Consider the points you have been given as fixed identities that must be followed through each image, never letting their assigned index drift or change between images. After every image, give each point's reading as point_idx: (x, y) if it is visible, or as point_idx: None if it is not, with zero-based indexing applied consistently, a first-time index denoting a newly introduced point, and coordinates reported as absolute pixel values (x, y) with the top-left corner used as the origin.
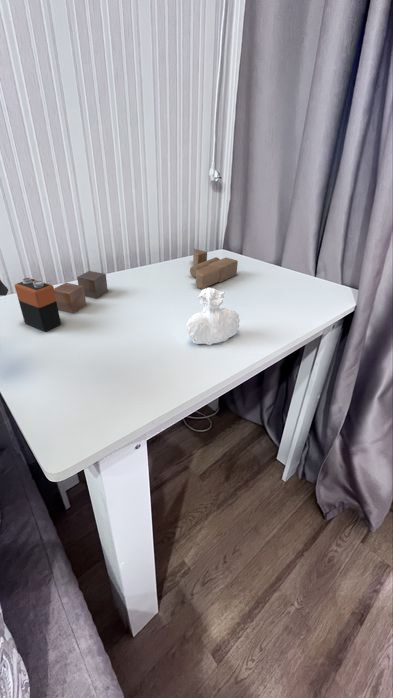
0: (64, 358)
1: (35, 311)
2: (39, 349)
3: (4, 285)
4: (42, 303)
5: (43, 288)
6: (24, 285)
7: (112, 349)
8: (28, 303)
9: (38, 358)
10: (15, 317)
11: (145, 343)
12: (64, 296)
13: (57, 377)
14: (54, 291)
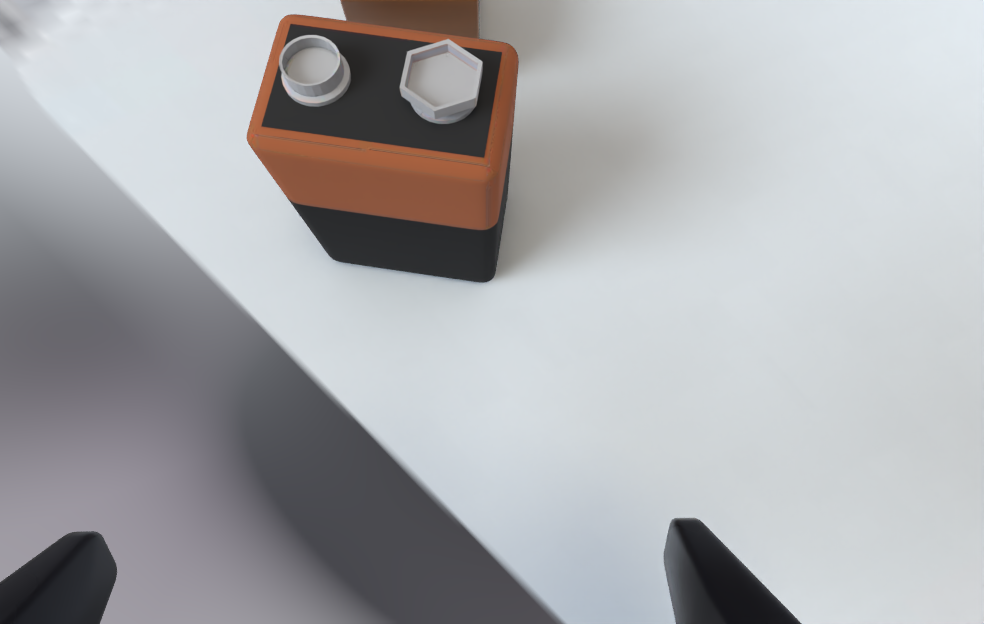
0: (745, 430)
1: (448, 239)
2: (580, 418)
3: (767, 591)
4: (500, 197)
5: (498, 110)
6: (340, 129)
7: (878, 274)
8: (393, 216)
9: (637, 484)
10: (232, 227)
11: (967, 172)
12: (437, 18)
13: (836, 572)
14: (365, 4)
